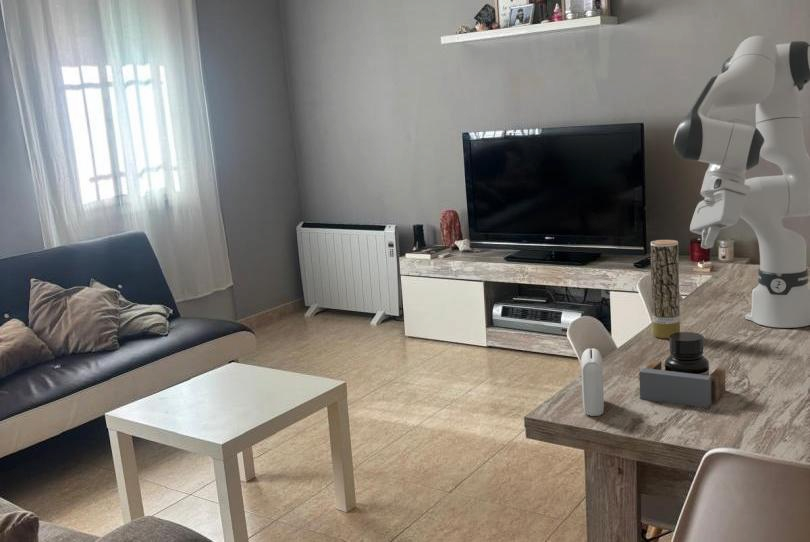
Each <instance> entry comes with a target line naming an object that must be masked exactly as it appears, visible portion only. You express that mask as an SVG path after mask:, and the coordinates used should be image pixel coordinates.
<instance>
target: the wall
mask: <svg viewBox="0 0 810 542" xmlns="http://www.w3.org/2000/svg"><path fill="white" fill-rule="evenodd" d="M638 375H639V399H640V400H647V401H656V402H661V403H670V404H676V405H684V406H692V407H696V408H697V407H698V408H705V409H709V407H711V405H713V404H712V398H711V376H710V375H709V376H708V375H699V374H690V373H682V372H673V371H665V369H664V370H663V369H662V370H656V369H647V367H643V368H642V369H640V370H639V374H638Z"/></svg>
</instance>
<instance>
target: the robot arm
mask: <svg viewBox="0 0 810 542" xmlns="http://www.w3.org/2000/svg"><path fill="white" fill-rule="evenodd" d="M809 82H810V43H808V42H807V41H802V40H800V41H799V40H798V41H791V42H790V43H789V42H787V43H780V44H775V41H773V40H772V39H771V38H769V37H766V36H764V35H763V36H762V35H753V36H750V37H748V38H746V39H744V40H743V41H742V42H740V44H739V45H738V46H737V48H736V50H735V52H734V53H733V55H732V56H730V57H728V58H727V59H726V60H725V61H724V62H723V63H722V66H721V73H720V74H717V75H715V76H712V77H711V78H710V79H709V80H708V81H707V83H706V85H705V86H704V87H703V88H702V91H701V92H700V94H699V95H698V97H697V98H696V100H695V102H694V104H693V105H692V107H691V108H690V109H689V112H688V113H687V114H686V115H685V116H684V118H683V119H682V121H681V122H680V123H679V125H678V126H677V129H676V131H675V134H674V137H673V149H674V151H675V152H676V154H677V155H678V156H679V158H681V159H682V161H690V162H701V163H705V164H706V163H707V164H709V165H708V168H707V170H706V171H705V174H704V177H703V181H702V185H701V189H700V192H699V194H700V196H702V197H703V198H704V199H702V200H701V201H699V202H698V204H697V205H696V207H695V210H694V213H693V215H692V218H691V222H690V226H689V231H690V232H691V233H694V234H697V235H700V236H701V244H700V248H701V249H705V250H708V249H713V247H714V245H715V241H716V239H717V238H718V237H719V233H720V231H721V230H723V229H726V228H729V227H732V226H735V225H736V224H737V223H738V222H739V220H740V218H741V220H744V221H745V222H746V223H747V224H748V225H749V226H750V228H751V229H752V230H753V231H754V233H755V235H756V238H757V241H758V242H757V243H758V246H759V249H758V250H759V265H760V266H759V269H758V274H757V283H758V285H757V286H756V287H754V288H753V289H752V292H751V294H752V295H751V311H750V312H748V313H746V314H745V316H744V319H745V320H749V321H752V322H754V323H755V324H758V325H760V326H761V325H762V326H765V327H770V328H779V329H780V328H783V329H784V328H787V329H789V328H802V327H808V326H810V286H809V271H808V268H807V242H806V239H805V238H804V236H802V234H800V233H798V232H796V231H793V230H791V229H789V228H786V227H784V225H783V221H782V220H783V219H784V218H798V217H799V218H800V217H810V155H809V154H808V151H807V148H806V147H807V146H806V142H805V135H804V125H803V114H802V113H803V112H802V105H801V101H800V96H799V94H798V93H799V92H800V91H802V90H803V89H804V86H805V85H806V84H807V83H809ZM798 91H799V92H798ZM753 106H755V126H754V125H753V124H752V123H750V122H748V121H746V120H743V119H736V118H734V119H728V120H726V121H725V120H720V119H714V118H710V116H711V114H712V112H713V111H715V110H717V109H723V108H749V107H753ZM760 157H761V158H762V159H764V160H765V161H767V162H769V163H772V164H774V165H777V166H778V167H779V168H780V170H781V172H782V175H781V174H780V175H779V174H778V175H767V176H755V177H749V178H747V179H746V173H747V171H749V170H750V169H753V168H754V167H756V166H758V164H759V163H760Z"/></svg>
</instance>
